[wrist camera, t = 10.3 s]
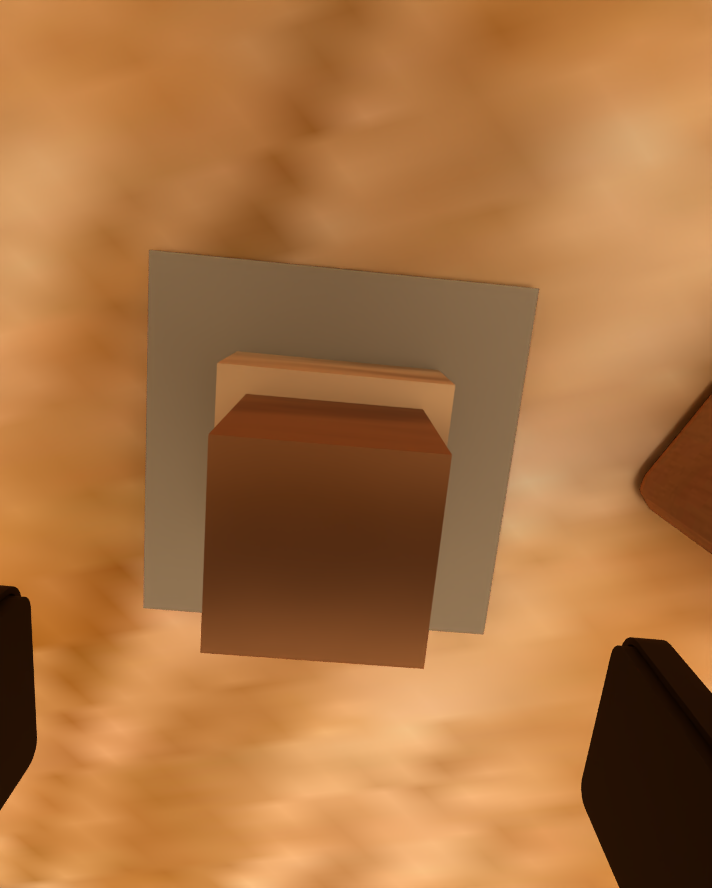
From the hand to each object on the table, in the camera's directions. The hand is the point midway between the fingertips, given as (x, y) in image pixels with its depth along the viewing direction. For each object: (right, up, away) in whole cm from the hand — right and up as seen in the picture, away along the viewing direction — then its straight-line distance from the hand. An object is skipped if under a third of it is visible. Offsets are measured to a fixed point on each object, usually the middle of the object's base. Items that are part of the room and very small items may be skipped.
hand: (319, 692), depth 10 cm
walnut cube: (0, +3, +12) cm, 12 cm away
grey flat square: (0, +4, +17) cm, 17 cm away
